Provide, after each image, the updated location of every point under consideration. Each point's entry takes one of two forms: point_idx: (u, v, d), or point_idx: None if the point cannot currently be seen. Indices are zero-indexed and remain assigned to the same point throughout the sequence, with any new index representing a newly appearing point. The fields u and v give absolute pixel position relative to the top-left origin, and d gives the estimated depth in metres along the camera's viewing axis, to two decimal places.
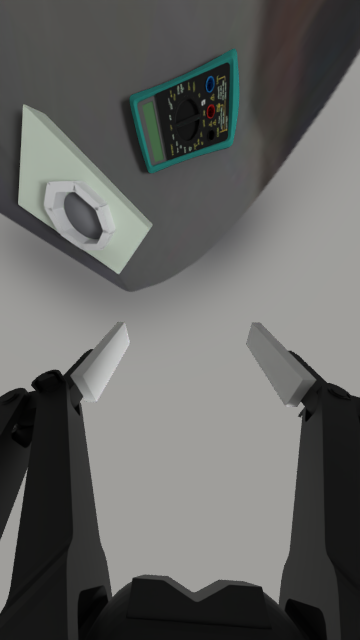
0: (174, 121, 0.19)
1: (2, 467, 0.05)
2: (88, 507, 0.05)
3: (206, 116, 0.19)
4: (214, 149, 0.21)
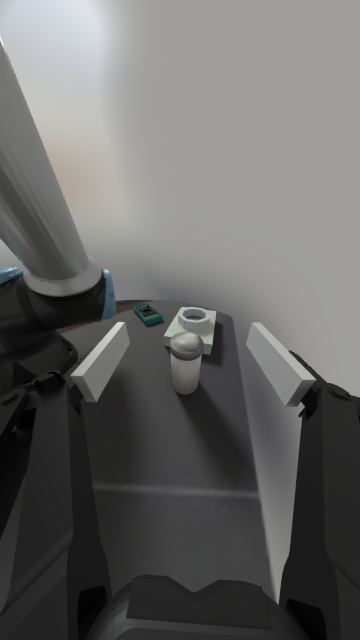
0: (147, 313, 0.55)
1: (2, 467, 0.05)
2: (88, 507, 0.05)
3: (144, 308, 0.59)
4: (150, 306, 0.61)
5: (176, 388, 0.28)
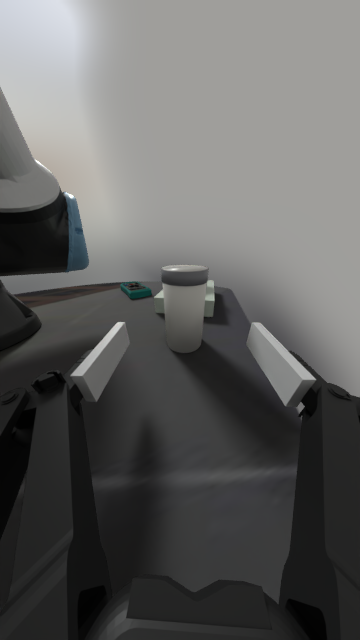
0: None
1: (2, 467, 0.05)
2: (88, 507, 0.05)
3: (132, 284, 0.51)
4: None
5: (173, 345, 0.21)
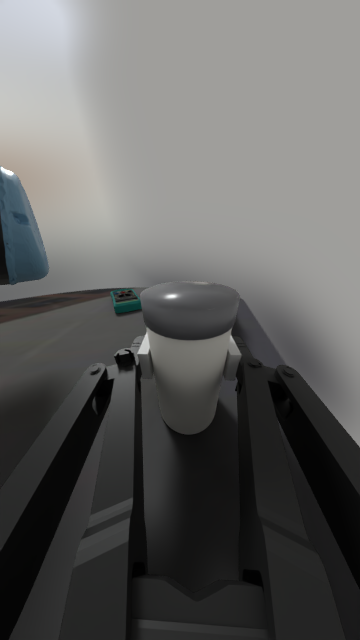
0: (124, 298, 0.39)
1: (83, 428, 0.07)
2: (140, 481, 0.05)
3: (124, 293, 0.42)
4: None
5: (169, 421, 0.12)
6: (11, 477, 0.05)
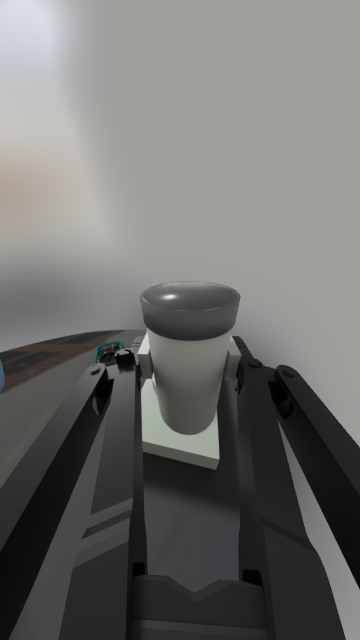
0: (106, 362, 0.35)
1: (83, 428, 0.07)
2: (140, 481, 0.05)
3: (109, 350, 0.39)
4: (121, 346, 0.41)
5: (169, 421, 0.12)
6: (10, 478, 0.05)
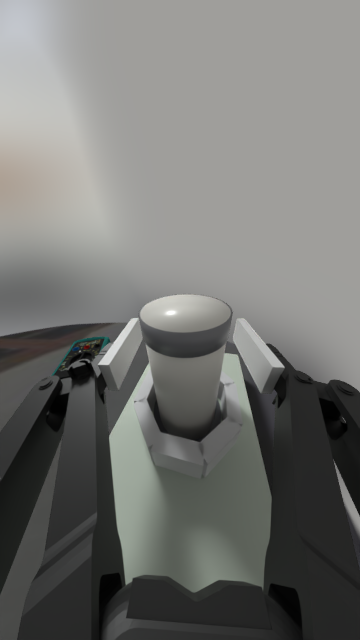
0: None
1: (37, 448, 0.06)
2: (109, 493, 0.05)
3: (87, 349, 0.27)
4: (105, 344, 0.29)
5: (169, 428, 0.12)
6: None
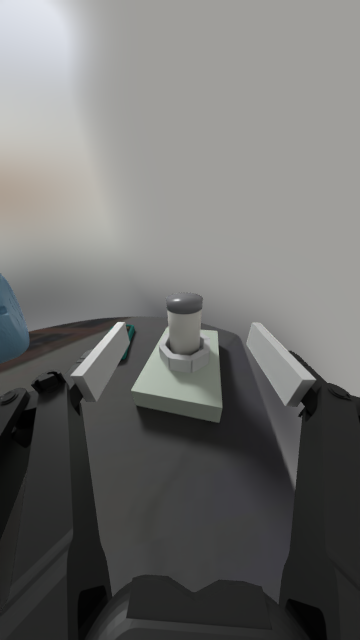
0: None
1: (2, 467, 0.05)
2: (88, 507, 0.05)
3: None
4: (131, 329, 0.42)
5: None
6: None
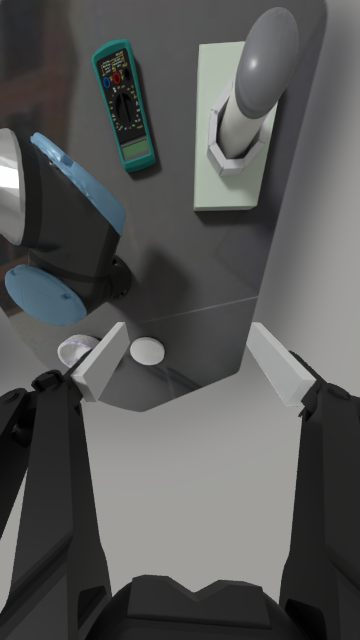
0: (126, 124, 0.27)
1: (2, 467, 0.05)
2: (88, 507, 0.05)
3: (119, 84, 0.24)
4: (134, 67, 0.23)
5: (226, 156, 0.26)
6: None
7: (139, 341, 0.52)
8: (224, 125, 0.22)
